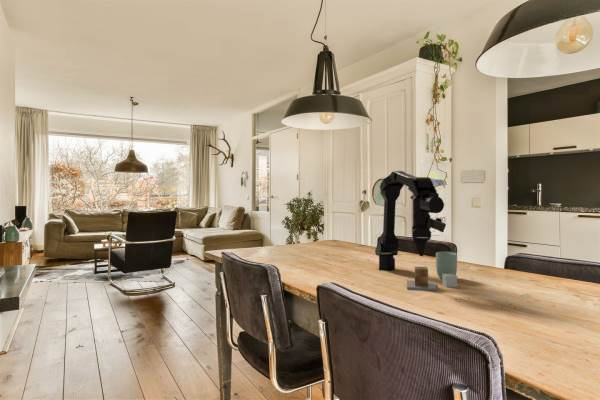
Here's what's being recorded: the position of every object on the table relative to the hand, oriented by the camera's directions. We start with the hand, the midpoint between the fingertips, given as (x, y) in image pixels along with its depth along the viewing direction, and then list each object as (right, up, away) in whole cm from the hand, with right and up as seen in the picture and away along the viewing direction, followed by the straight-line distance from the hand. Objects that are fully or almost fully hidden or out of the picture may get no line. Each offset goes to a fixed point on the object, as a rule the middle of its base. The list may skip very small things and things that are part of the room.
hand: (421, 253), depth 134 cm
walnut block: (0, -11, -1) cm, 11 cm away
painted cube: (+10, -12, 0) cm, 16 cm away
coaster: (0, -12, -1) cm, 12 cm away
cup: (+14, -12, +10) cm, 21 cm away
